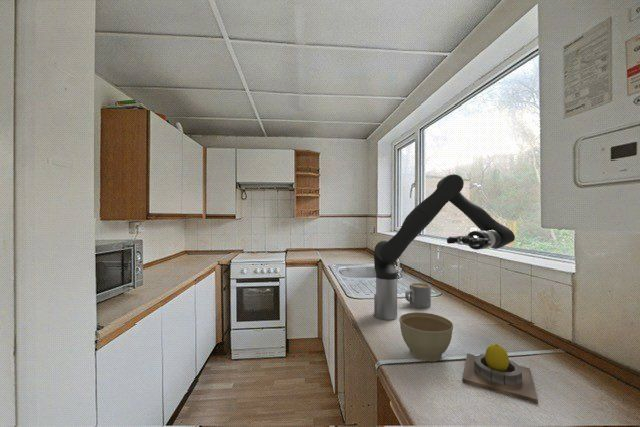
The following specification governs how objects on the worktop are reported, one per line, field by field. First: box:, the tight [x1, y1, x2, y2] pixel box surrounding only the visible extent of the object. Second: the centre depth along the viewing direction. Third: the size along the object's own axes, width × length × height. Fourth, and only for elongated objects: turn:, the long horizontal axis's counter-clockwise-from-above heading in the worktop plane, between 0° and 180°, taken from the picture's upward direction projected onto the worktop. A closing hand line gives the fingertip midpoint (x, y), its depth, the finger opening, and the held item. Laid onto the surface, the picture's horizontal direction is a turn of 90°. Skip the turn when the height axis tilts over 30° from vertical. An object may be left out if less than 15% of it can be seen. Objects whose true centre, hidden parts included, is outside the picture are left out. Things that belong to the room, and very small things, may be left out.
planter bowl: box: [399, 311, 454, 362], centre depth 89 cm, size 16×16×11 cm
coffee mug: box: [404, 282, 432, 309], centre depth 139 cm, size 13×10×10 cm
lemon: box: [484, 343, 510, 372], centre depth 77 cm, size 6×6×8 cm
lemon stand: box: [462, 353, 539, 404], centre depth 77 cm, size 16×16×4 cm
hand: (458, 241), depth 105 cm, fingers open, 8 cm apart
